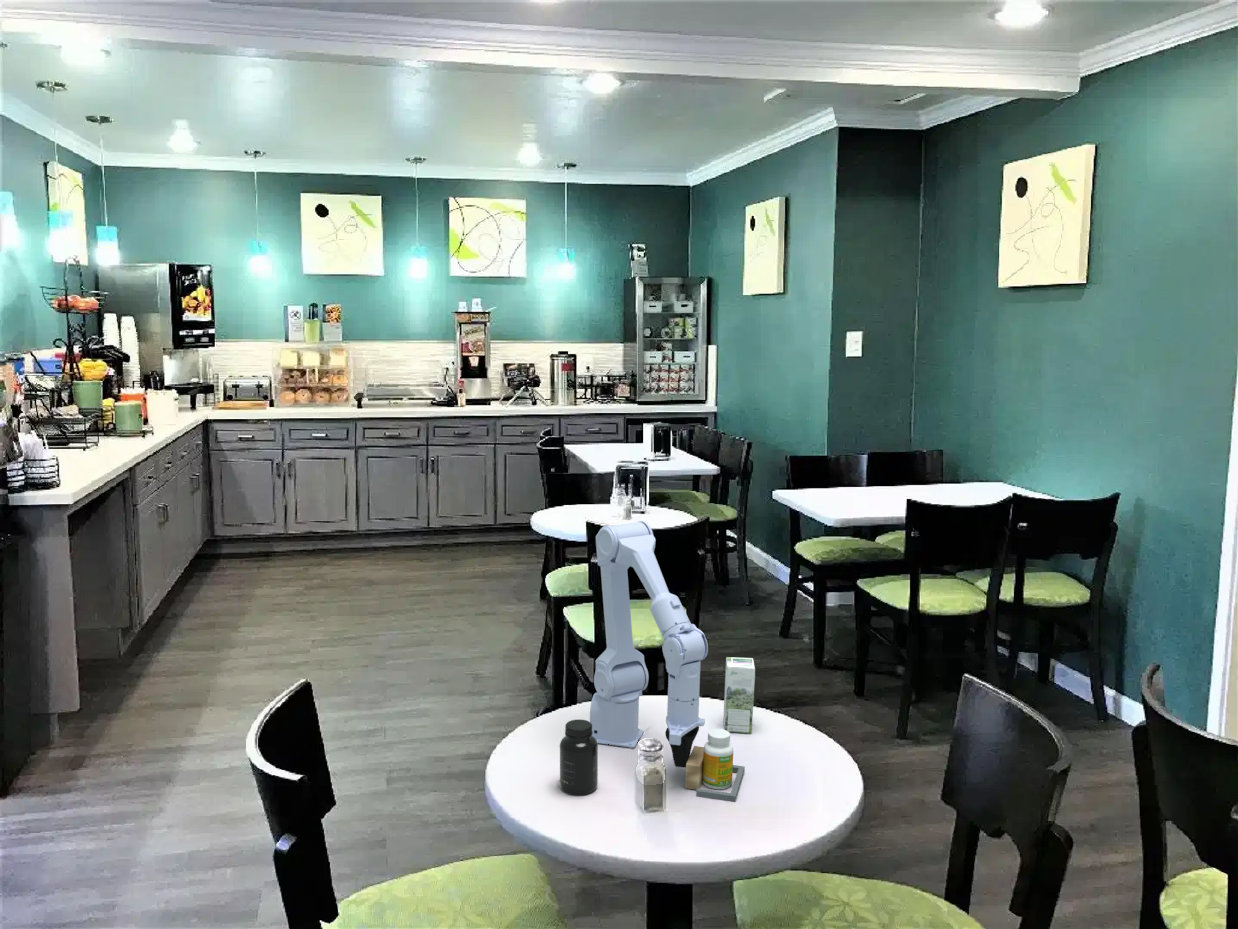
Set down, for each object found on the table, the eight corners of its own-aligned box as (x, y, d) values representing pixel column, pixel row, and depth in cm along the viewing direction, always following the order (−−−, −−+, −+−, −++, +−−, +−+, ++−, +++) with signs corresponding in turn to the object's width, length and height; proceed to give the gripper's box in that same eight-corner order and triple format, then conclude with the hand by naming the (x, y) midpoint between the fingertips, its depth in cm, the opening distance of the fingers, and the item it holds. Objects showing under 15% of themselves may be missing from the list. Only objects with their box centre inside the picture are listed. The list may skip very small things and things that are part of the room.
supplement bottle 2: (718, 793, 180) (720, 742, 179) (696, 782, 184) (698, 732, 182) (737, 784, 184) (740, 733, 182) (715, 773, 188) (717, 724, 186)
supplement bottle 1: (579, 774, 186) (580, 713, 184) (605, 788, 181) (606, 725, 179) (551, 786, 181) (552, 723, 179) (576, 800, 176) (578, 736, 175)
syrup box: (750, 722, 211) (753, 656, 208) (752, 735, 205) (755, 667, 202) (723, 721, 211) (725, 655, 209) (724, 733, 205) (726, 665, 203)
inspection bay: (696, 796, 179) (696, 791, 179) (707, 766, 190) (707, 761, 190) (735, 801, 177) (735, 796, 177) (744, 771, 189) (744, 766, 189)
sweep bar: (685, 788, 181) (686, 764, 181) (693, 768, 189) (694, 746, 188) (698, 790, 181) (699, 766, 180) (706, 770, 188) (707, 747, 188)
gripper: (698, 713, 175) (695, 786, 177) (711, 683, 189) (709, 751, 191) (658, 708, 177) (656, 781, 179) (675, 679, 191) (672, 746, 193)
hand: (681, 765), depth 185 cm, fingers closed, pressing on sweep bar
